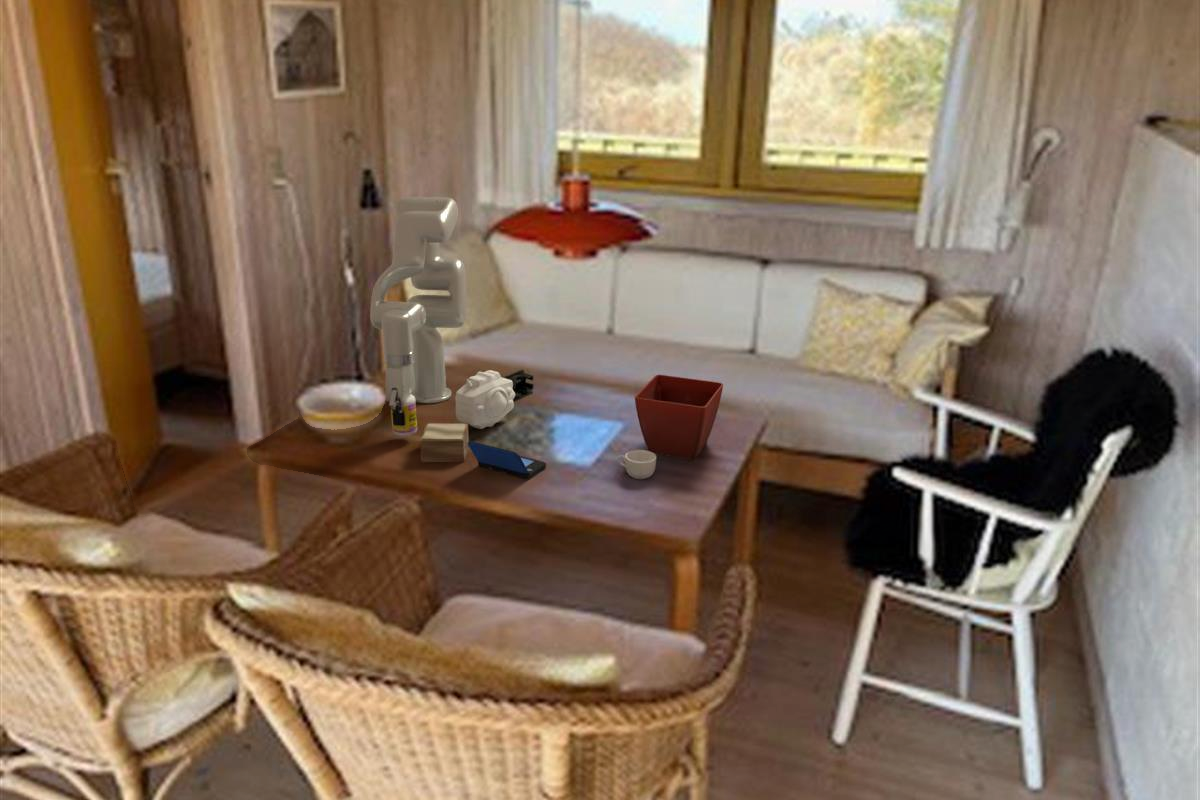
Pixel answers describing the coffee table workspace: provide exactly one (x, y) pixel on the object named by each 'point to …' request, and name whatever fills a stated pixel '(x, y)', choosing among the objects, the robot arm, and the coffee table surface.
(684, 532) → the coffee table surface
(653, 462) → the teacup
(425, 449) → the pale wooden block
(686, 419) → the plant pot
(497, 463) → the handheld game console
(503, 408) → the camera
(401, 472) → the coffee table surface
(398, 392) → the robot arm
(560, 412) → the coffee table surface
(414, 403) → the supplement bottle
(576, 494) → the coffee table surface
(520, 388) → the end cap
